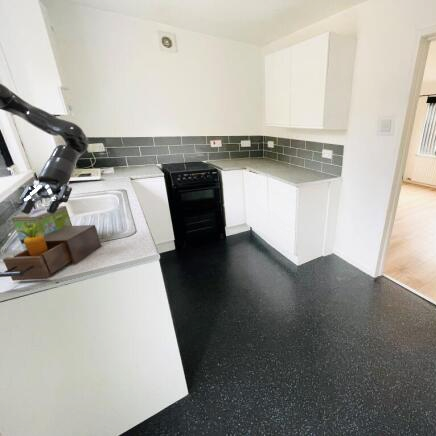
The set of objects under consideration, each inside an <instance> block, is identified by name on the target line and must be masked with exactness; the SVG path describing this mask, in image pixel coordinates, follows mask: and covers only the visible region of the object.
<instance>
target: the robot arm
mask: <svg viewBox="0 0 436 436" xmlns="http://www.w3.org/2000/svg"><path fill="white" fill-rule="evenodd" d="M0 110H2V111H4V112H7V113H10V114H13V115H15V116H17V117H19V118H20V119H22V120H24V121H26V122H27V123H28V124H30V125H32V126H34V127H35V128H36V129H39V130H40V131H42V132H43V133H46V134H48V135H50V136H54V137H58V136H59V137H61V138H62V139H63V141H64V143H65V144H59V145H57V146H56V147H54V149H53V150H52V153H51V155H50V157H49V158H48V159H47V161H46V162H45V164H44V166H43V167H42V169H41V171H40V173H39V175H38V176H37V180H38V183H37V184H36V185H32V184H30V183H29V184H27V186H26V187H25V189H24V190H23V191H22V194H21V195H20V197H19V200H21V201H22V202H24V203H23V204H22V207H21V209H20V212H21V213H22V214H23V213H25V214H29V213H30V212H31V211H32V210H33V208H34V206H35V204H36V203H38V202H39V201H42V200H44V199H51V201H49V204H48V206H47V207H48V208H47V212H49V213H51V214H54V213H55V212H56V211H57V209H58V206H60V205H61V204H63V203H68V201H69V199H70V196H71V193H72V191H73V188H72V187H71V186H69V185H68V184H69V182H70V180H71V178H72V175H73V173H74V171H75V166H76V165H77V163H78V160H79V158H81V157H82V155H84V154H85V152H86V151H87V150H88V148H89V138H87V136H86V133H85V131H84V130H83V128H81V127H80V126H79V125H78V124H76V123H75V122H72V121H69V120H65V119H62V118H59V117H57V116H55V115H53V114H51V113H50V112H48V111H46V110H44V109H42V108H39V107H37V106H35V105H33V104H31V103H30V102H27V101H25V100H24V99H23V98H21V97H20V96H18V95H17V94H16V93H15V92H13V91H12V90H10V89H9V88H8V87H7V86H6V85H4V84H2V83H0Z"/></svg>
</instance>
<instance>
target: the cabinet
mask: <svg viewBox="0 0 436 436" xmlns="http://www.w3.org/2000/svg"><path fill="white" fill-rule="evenodd" d="M43 237H44V239H45V242H46V243H59V242H65V243H66V246H67V249H68V251H69V254H70V257H71V260H72V261H70V262H69V263H67V264H66V265H77V264H78V263H79V262H81V261H82V260H83V259H85V258H87V257H88V256H89V255H91V254H93V253H94V252H95V251H97V250H98V249H100V248H101V247H102V244H101V243H102V242H101V240H100V236H99V233H98V229H97V227H96V225H95V224H86V225H85V224H84V225H72V226H64V227H62V228H60V229H58V230H55V231H53V232H51V233H49V234H47V235H45V236H43Z"/></svg>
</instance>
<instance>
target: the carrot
mask: <svg viewBox="0 0 436 436" xmlns="http://www.w3.org/2000/svg"><path fill="white" fill-rule="evenodd" d="M36 228H37V225H33V227H32V228H30V229H28V228H25V230H26V231H27V232H28V233H27V232H26V231H25V230H23V229H20V230H19V231H20V232H22V233H24V234H25V235H27V236H28V237H27V238H25V239H24V244H25V246H26V248H27V250H28V252H29V254H30V255H31V256H41V254H43V253H44V252H46V251H48V249H47V245H46V242H45V239H44V237H43V236H42V235H36V233H37V232H38V230H36Z"/></svg>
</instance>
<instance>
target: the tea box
mask: <svg viewBox="0 0 436 436" xmlns="http://www.w3.org/2000/svg"><path fill="white" fill-rule="evenodd" d="M47 208H48V206H40V207H37V208H35V209H32V210H31V212H30V213H29V214H25V213H23V212H22V213H20V214H17V215H14V216H12V217H11V219H12V223H13V225H14V228H15V231H16V234H17V237H18V238H19V239H18V240H19V241H20V243H21V246H22V249H23V251H24V250H26V249H27V248H26V246H25V244H24V239H25V238H27V237H28V236H27V235H25V234H24V233H22V232H20V231H19V230H20V229H23V230H25V228H28V229H30V228H32V227H33V225H37V228H36V230H38V232H37V233H36V235H42V236H45V235H47V234H49V233H51V232H53V231H55V230H58V229H60V228H62V227H64V226H73V224H72V223H73V222H72V220H71V217H70V214H69V211H68V207H67V206H66V205H59V206H58V209H57V211H56V212H55V213H54V214H51V213H49V212H47ZM25 231H26V230H25ZM26 232H27V231H26ZM27 233H28V232H27Z"/></svg>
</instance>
